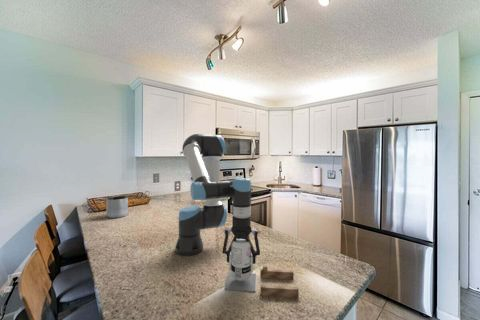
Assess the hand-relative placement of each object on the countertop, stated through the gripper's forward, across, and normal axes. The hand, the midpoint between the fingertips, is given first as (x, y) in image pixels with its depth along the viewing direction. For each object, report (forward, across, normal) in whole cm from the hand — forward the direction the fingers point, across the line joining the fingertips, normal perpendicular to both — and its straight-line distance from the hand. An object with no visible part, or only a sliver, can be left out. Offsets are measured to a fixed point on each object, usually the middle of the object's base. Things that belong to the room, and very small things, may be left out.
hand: (241, 270), depth 87 cm
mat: (+5, 0, 0) cm, 5 cm away
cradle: (+5, +15, -1) cm, 16 cm away
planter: (+5, -113, +83) cm, 140 cm away
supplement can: (+2, 0, 0) cm, 2 cm away
